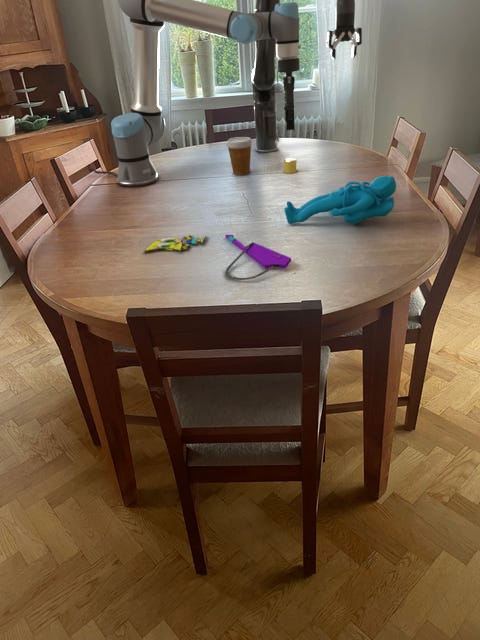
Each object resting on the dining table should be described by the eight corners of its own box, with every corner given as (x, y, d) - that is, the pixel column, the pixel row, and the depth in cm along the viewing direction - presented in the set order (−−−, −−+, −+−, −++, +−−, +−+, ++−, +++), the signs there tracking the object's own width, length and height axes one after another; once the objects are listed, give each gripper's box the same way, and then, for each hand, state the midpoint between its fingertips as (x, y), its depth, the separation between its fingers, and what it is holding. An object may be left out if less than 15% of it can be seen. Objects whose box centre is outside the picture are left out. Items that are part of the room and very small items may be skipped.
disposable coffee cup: (225, 175, 181) (222, 142, 175) (234, 168, 188) (232, 136, 182) (248, 176, 178) (246, 143, 171) (257, 169, 185) (255, 136, 178)
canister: (282, 173, 179) (282, 161, 176) (286, 169, 182) (286, 157, 180) (294, 173, 177) (294, 161, 174) (298, 170, 180) (298, 158, 178)
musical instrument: (267, 291, 107) (306, 245, 119) (265, 283, 105) (305, 238, 118) (184, 277, 119) (226, 237, 132) (181, 270, 118) (225, 230, 130)
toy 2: (287, 190, 142) (392, 164, 132) (296, 223, 147) (398, 200, 137) (279, 211, 128) (396, 183, 118) (290, 247, 133) (402, 223, 123)
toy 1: (199, 248, 125) (143, 249, 127) (199, 251, 125) (144, 252, 127) (206, 233, 133) (154, 234, 135) (206, 236, 133) (154, 237, 136)
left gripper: (301, 60, 148) (302, 132, 160) (297, 53, 169) (298, 118, 181) (277, 62, 149) (279, 134, 160) (276, 55, 170) (278, 119, 181)
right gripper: (331, 13, 186) (330, 60, 195) (366, 10, 188) (363, 57, 196) (324, 13, 192) (324, 59, 201) (358, 10, 194) (356, 56, 203)
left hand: (289, 125), depth 171 cm, fingers open, 13 cm apart
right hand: (343, 58), depth 199 cm, fingers open, 8 cm apart
